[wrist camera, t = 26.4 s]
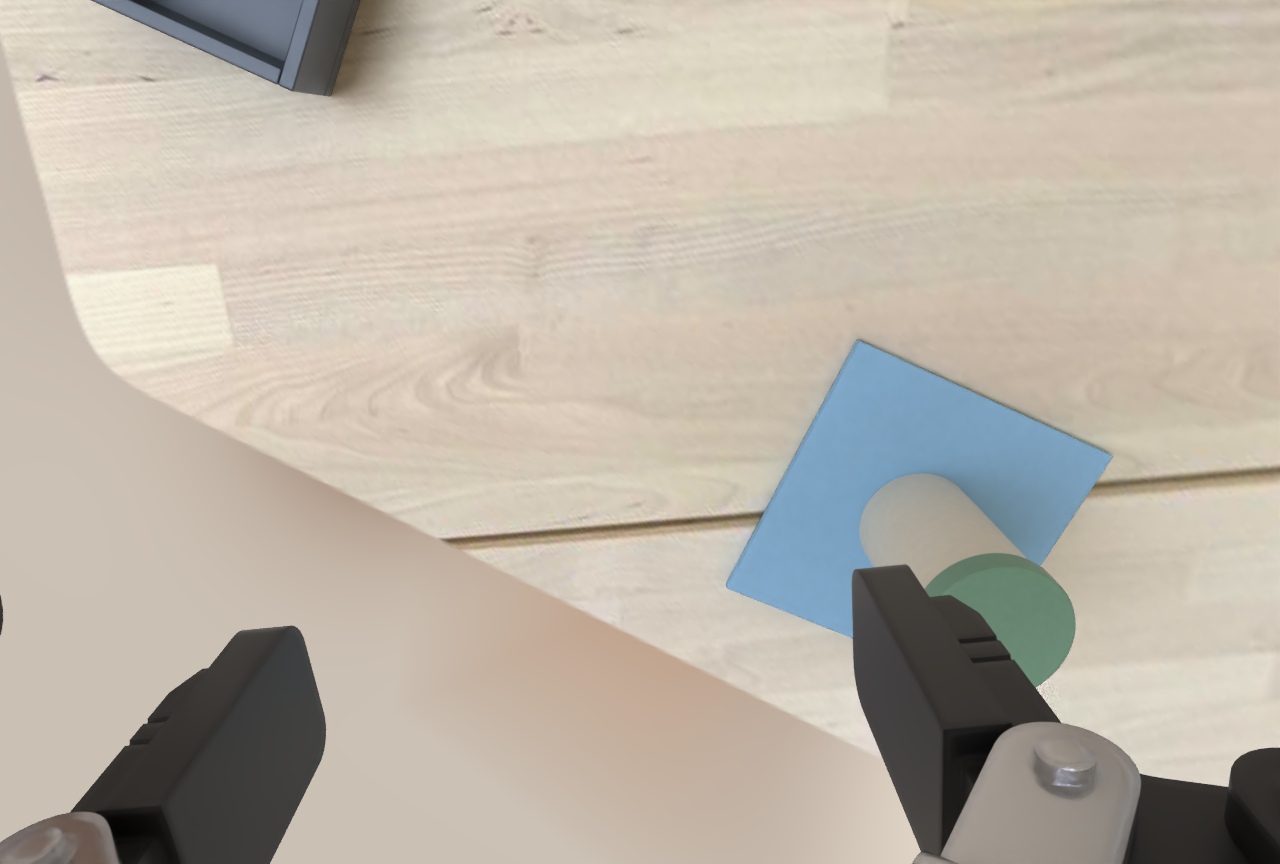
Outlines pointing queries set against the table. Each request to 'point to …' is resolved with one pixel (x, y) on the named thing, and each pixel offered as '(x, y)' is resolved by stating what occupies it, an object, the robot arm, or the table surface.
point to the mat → (891, 448)
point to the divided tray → (258, 34)
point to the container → (970, 567)
